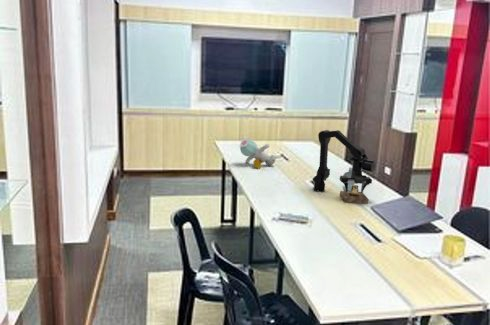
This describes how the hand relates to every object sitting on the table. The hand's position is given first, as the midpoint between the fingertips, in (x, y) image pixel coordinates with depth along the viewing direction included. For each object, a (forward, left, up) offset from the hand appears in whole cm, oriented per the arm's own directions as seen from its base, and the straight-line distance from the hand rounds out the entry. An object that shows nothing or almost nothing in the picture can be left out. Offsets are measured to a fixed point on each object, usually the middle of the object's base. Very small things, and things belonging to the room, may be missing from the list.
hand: (354, 192), depth 279 cm
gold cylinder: (0, 0, -4) cm, 4 cm away
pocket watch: (+3, +19, -5) cm, 20 cm away
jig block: (0, 0, -4) cm, 4 cm away
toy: (-57, +70, -5) cm, 91 cm away
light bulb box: (+11, +41, -5) cm, 43 cm away
